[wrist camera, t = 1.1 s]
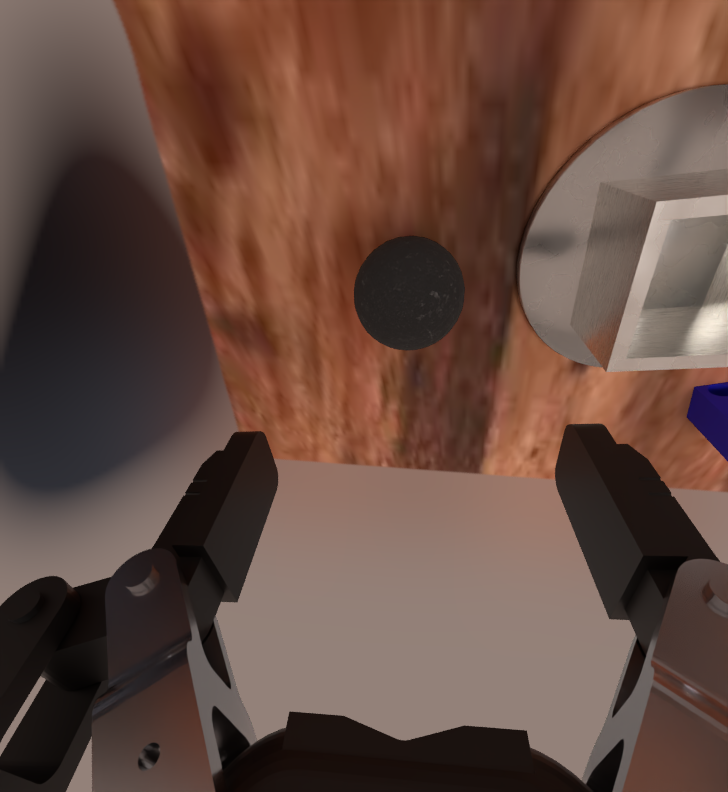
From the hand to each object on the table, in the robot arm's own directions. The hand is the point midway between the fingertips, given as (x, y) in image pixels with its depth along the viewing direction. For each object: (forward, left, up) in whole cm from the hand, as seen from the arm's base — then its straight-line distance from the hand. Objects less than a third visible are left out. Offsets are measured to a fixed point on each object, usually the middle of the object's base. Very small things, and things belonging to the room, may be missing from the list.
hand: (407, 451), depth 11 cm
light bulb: (0, 0, -19) cm, 19 cm away
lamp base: (+1, +15, -19) cm, 24 cm away
